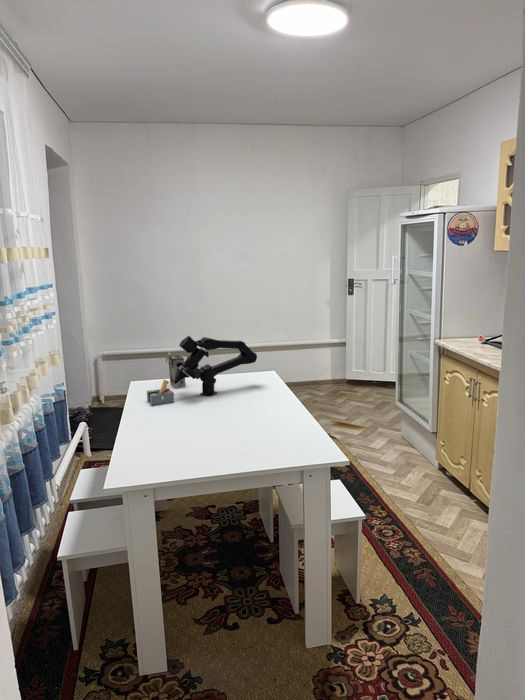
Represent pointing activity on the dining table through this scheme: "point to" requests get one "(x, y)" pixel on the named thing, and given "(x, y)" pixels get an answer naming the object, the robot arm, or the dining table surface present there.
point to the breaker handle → (163, 386)
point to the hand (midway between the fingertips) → (174, 383)
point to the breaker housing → (160, 397)
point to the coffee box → (173, 371)
